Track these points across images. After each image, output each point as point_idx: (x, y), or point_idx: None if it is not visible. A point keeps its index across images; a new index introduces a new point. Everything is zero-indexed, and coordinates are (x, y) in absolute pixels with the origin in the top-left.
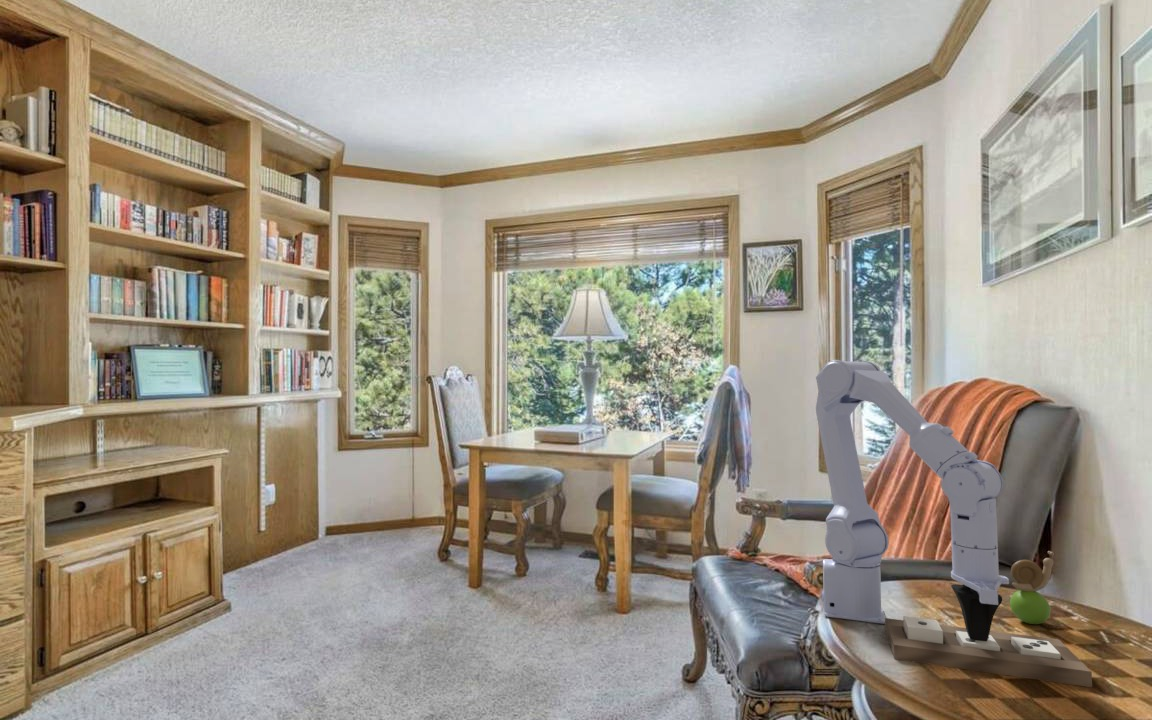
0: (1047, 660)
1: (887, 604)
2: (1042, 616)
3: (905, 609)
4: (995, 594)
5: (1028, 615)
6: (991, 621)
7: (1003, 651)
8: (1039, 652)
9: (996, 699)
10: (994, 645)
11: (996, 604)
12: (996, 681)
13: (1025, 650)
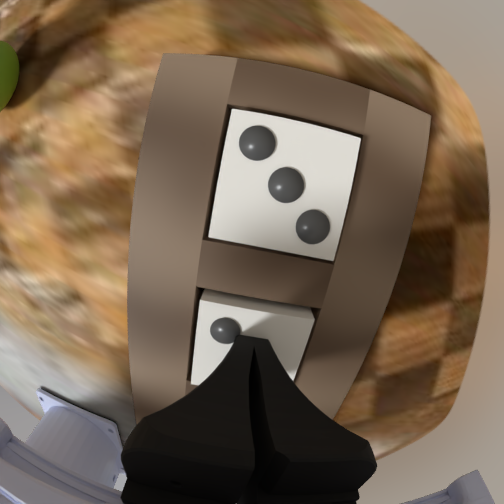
0: (376, 198)
1: (10, 359)
2: (13, 60)
3: (14, 341)
4: (485, 500)
5: (5, 91)
6: (293, 382)
7: (319, 307)
8: (344, 202)
9: (446, 359)
10: (301, 330)
11: (473, 473)
12: (391, 338)
13: (336, 247)
